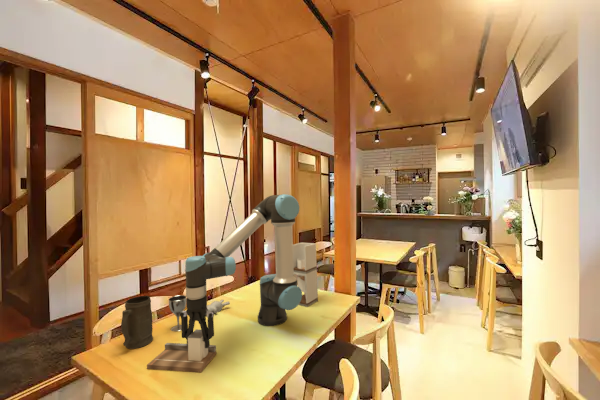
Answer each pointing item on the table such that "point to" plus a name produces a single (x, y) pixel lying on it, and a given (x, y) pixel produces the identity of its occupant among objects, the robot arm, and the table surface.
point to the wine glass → (177, 308)
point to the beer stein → (137, 322)
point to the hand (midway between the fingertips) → (198, 355)
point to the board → (180, 359)
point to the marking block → (195, 346)
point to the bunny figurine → (216, 306)
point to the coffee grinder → (306, 271)
